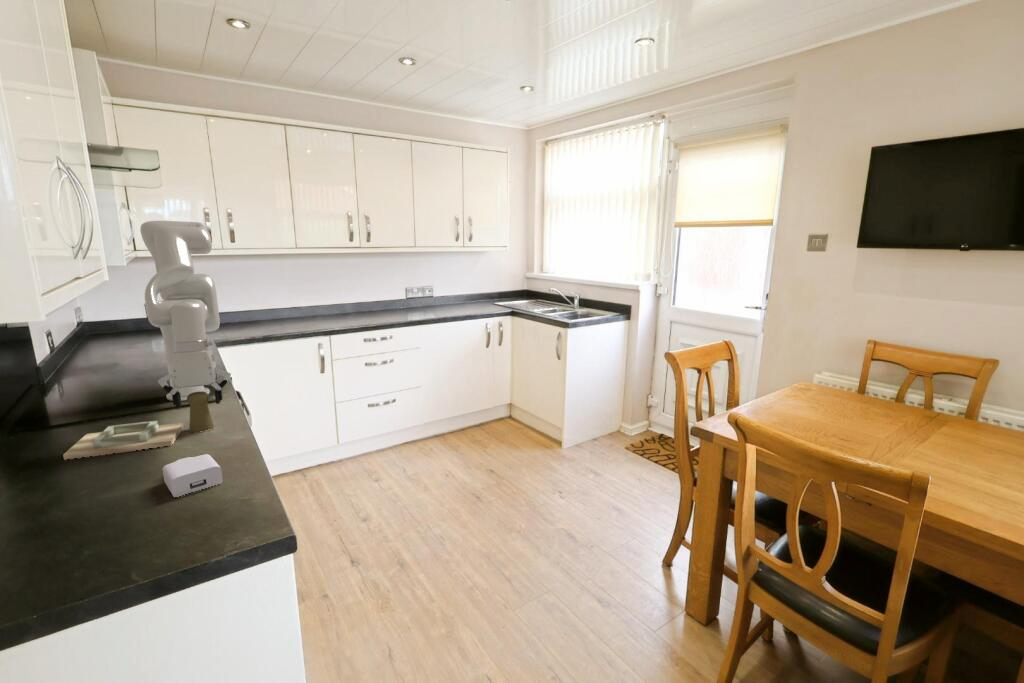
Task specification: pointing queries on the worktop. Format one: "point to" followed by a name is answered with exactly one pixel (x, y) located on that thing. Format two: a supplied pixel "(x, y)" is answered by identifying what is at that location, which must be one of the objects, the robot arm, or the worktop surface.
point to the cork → (199, 412)
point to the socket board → (125, 439)
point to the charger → (192, 474)
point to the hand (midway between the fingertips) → (199, 404)
